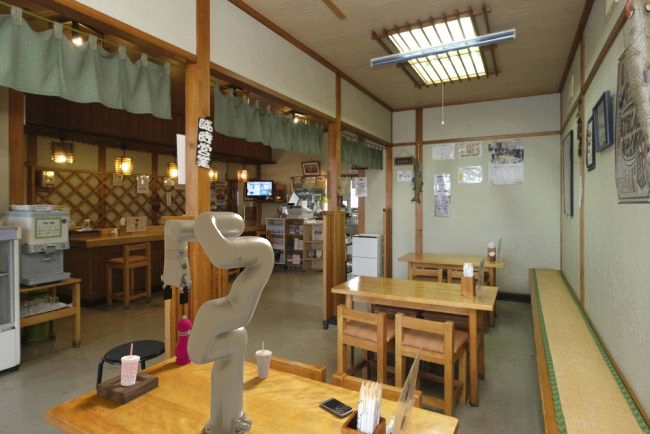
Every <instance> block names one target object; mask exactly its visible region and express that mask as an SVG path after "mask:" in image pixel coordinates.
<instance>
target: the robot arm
mask: <svg viewBox="0 0 650 434" xmlns="http://www.w3.org/2000/svg"><path fill="white" fill-rule="evenodd" d="M164 225H165V227H164V228H165V229H164V262H163V263H164V265H163V274H161V275H160V279H161V285H162V289H163V292H162V293H163V300H164V301H168V300H172V299H173V287H175V288H178V289H179V291H180V292H179V305H186V304H188V303H189V293H190V290H191V288H192V284H193V281H192V280H191V270H190V269H191V268H190V267H191V266H190V262H189V261H190V260H189V257H188V243H189V242H191V243H192V242H193V243H194V242H198V243H199V245H200V247H201V248H202V250H203V251H204V253H205V255H206V256H207V258H208V259H209V261H210V263H211V264H212V265H213V266H214V267H215V268H217V269H222V270H229V269H230V270H231V269H237V268H245V269H243V271H241V272H240V274H238V275H237V276H236V278H234V279H235V280H234V281H233V283H232V285H231V288H230V291H229V292H228V294H227V295H226V296H224V297H219V298H215V299H211V300H207V301H205V302H204V303H202V305H200V307H199V308H198V310H197V312H196V315H195V318H194V320H193V324H192V326H191V329H190V334H189V340H188V346H187V351H188V356H189V358H190V360H191V363H193V364H195V365H198V366H199V365H207V364H210V363H212V362H213V364H212V367H211V371H210V410H209V411H210V413H209V416H210V418H209V419H208V420H207V421H206V422H205V425H204V432H205V434H243V433H244V432H246V433H249V432H250V431H251V429H252V424H253V420H251V419H248V418H247V416H246V415H247V414H246V413H247V412H245V411H243V410H244V369H245V368H244V366H245V357H246V350H247V346H248V339H249V338H248V336H249V335H248V331H247V329H246V328H245V327H246V326H248V325H249V323H250V322H251V320H252V319H253V316H254V313H255V310H256V308H257V306H258V303H259V302H260V298H261V295H262V292H263V290H264V288H265V287H266V284H267V283H268V281H269V280H270V278H271V274H272V272H273V269H274V266H275V253H274V249H273V246H272V243H271V242H270V241H269V240H268V239H266V238H264V237H261V236H256V235H255V236H251V235H248V236H247V235H246V236H242V234H243V233H244V231H245V228H246V226H245V221H244V219H243V217H242V216H241V215H240V214H238V213H236V212H233V211H203V212H201V213H199V214H198V215H197V216H196V218H195V219H169V220H166V222H165V224H164Z"/></svg>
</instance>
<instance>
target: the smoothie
mask: <svg viewBox="0 0 650 434" xmlns="http://www.w3.org/2000/svg"><path fill="white" fill-rule="evenodd" d="M264 343H265V342H264V341H262V344H261V345H262V347H261V349H259V350H256V352H255V355H254V356H255V359H256V367H257V377H259V378H258V379H260V380H265V378H266V379H268V378H269V371H270V364H271V357H272V353H273V352H272V351H271V350H268V349H265V348H264V347H265V344H264Z"/></svg>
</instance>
